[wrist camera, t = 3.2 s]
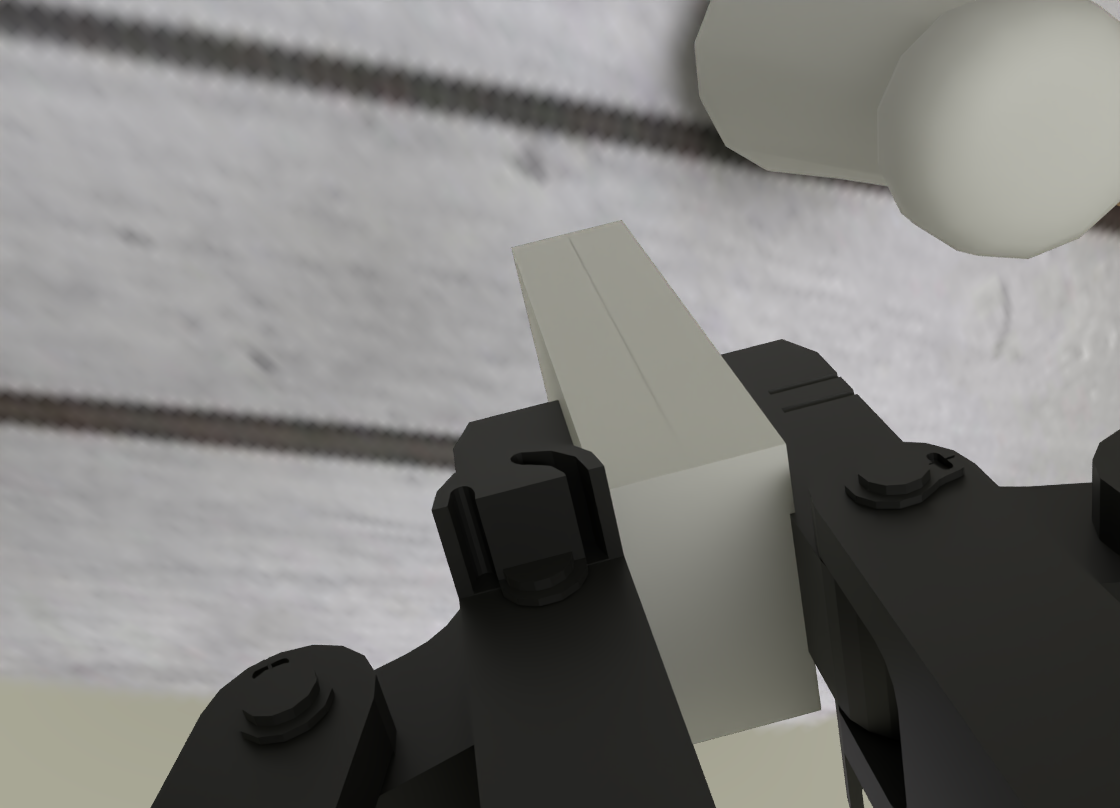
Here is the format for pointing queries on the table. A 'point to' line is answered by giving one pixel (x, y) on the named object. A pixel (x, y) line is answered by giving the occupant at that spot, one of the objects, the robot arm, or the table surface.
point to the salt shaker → (929, 107)
